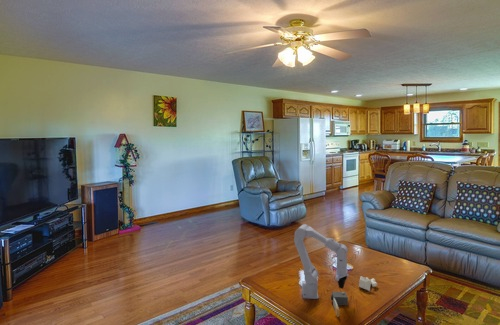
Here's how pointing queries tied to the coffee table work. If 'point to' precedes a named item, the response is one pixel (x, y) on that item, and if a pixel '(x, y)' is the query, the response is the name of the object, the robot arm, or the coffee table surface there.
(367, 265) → the coffee table surface
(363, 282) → the figurine
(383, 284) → the coffee table surface
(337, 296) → the case
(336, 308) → the door
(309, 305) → the coffee table surface
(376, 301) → the coffee table surface
